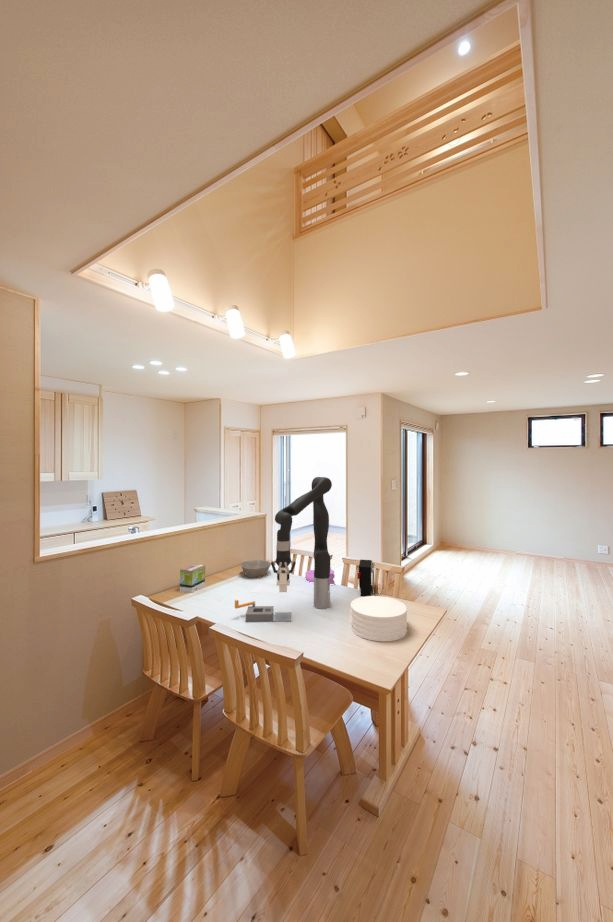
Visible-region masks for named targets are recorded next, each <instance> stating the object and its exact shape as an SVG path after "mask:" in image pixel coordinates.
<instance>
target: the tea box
mask: <svg viewBox="0 0 613 922" xmlns="http://www.w3.org/2000/svg"><path fill="white" fill-rule="evenodd" d="M179 569H180V571H179V592H180V593H181V592H182V593H189V594H192V593H194V592H196V591H198V590H200V589H201V588H203V587H205V585H206V564H199V563H192V564H190V565H188V566H184V567H183V568H179Z"/></svg>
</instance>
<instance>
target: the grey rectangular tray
mask: <svg viewBox="0 0 613 922" xmlns="http://www.w3.org/2000/svg"><path fill="white" fill-rule="evenodd" d="M274 607H275V606H274V605H265V606H264V605H263V606H262V605H255V606H252V605H249V606H247V609H246V613H245V623H249V622H250V623H265V622H266V623H267V622H268V623H272V622H273V621H274V620H273V619H274V615H275V614H274V613H275V612H274V609H275V608H274Z"/></svg>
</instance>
